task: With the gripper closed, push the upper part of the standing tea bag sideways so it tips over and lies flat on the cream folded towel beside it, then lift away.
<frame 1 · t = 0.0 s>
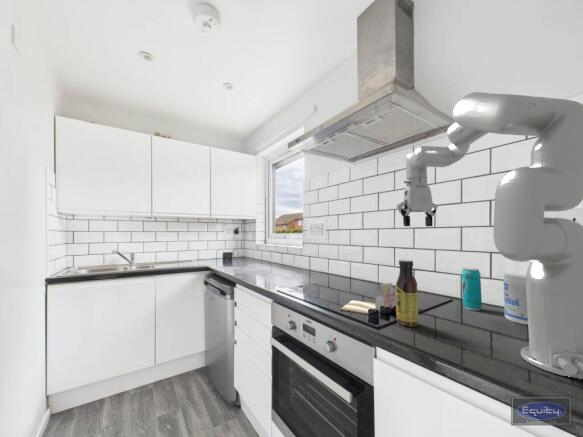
hand: (418, 226, 100), 31 cm above the counter, tool pointing down, fingers open, 9 cm apart
sauce bottle: (407, 324, 79), on the counter
beverage can: (472, 309, 94), on the counter
supplement tub: (524, 322, 81), on the counter
cream folded towel: (360, 307, 96), on the counter
tea bag: (385, 312, 91), on the counter
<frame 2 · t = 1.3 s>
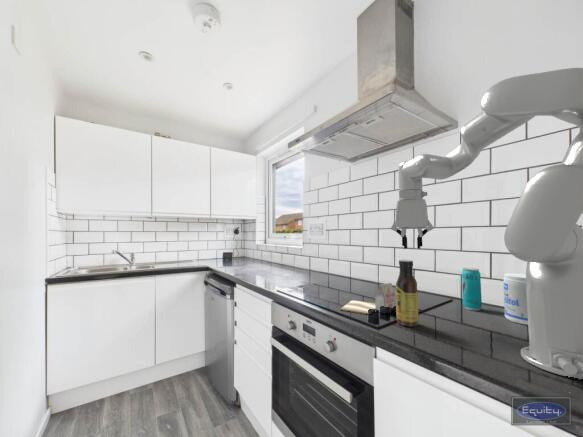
hand: (412, 247, 88), 23 cm above the counter, tool pointing down, fingers open, 3 cm apart
nothing on the counter moved.
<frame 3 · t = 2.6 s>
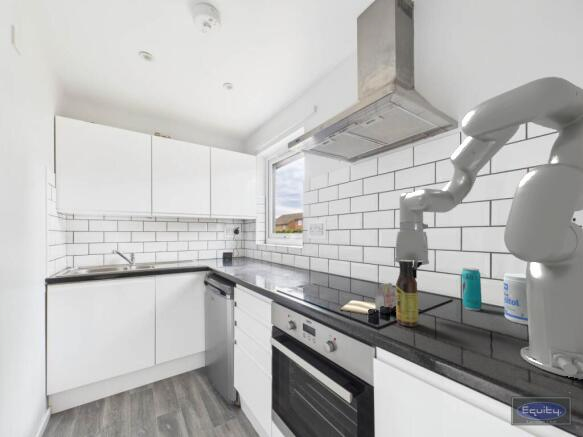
hand: (411, 280, 88), 12 cm above the counter, tool pointing down, fingers closed
nothing on the counter moved.
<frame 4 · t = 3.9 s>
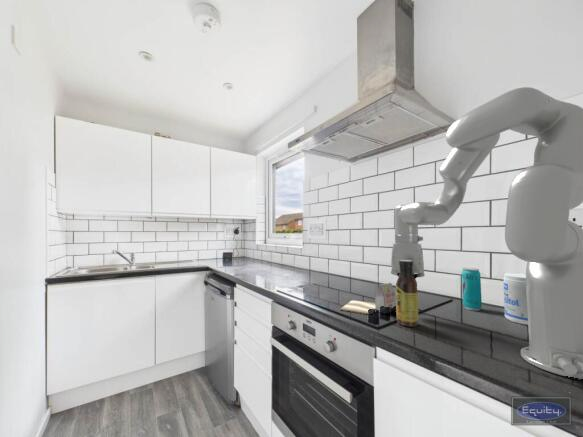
hand: (407, 292, 88), 8 cm above the counter, tool pointing down, fingers closed
nothing on the counter moved.
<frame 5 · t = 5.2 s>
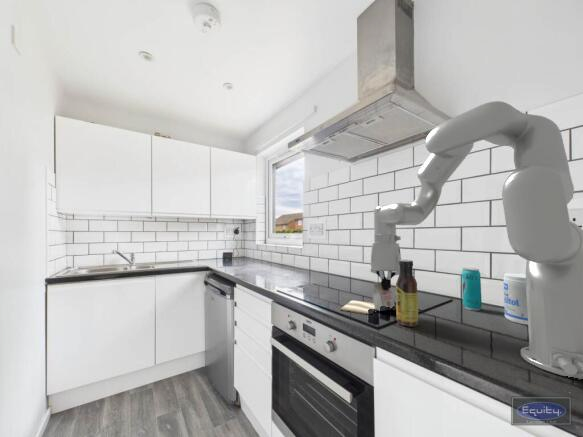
hand: (386, 289, 92), 8 cm above the counter, tool pointing down, fingers closed
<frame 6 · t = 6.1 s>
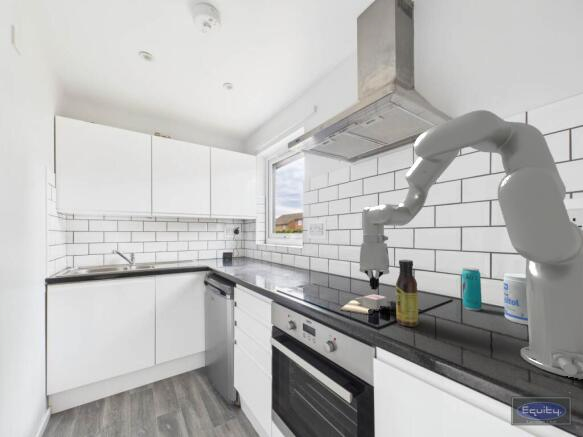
hand: (374, 288, 94), 8 cm above the counter, tool pointing down, fingers closed
tea bag: (382, 303, 93), point 2 cm above the counter, touching cream folded towel
everything else where it was.
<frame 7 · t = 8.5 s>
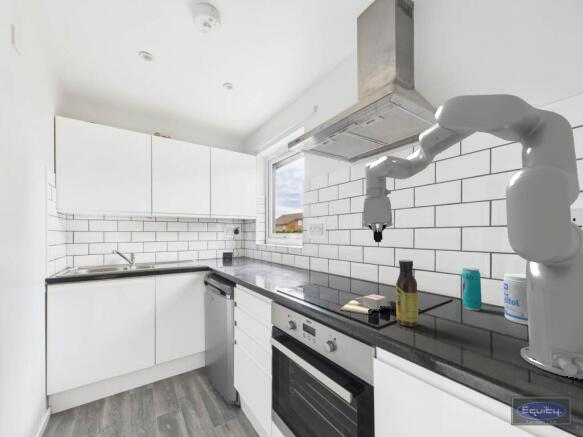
hand: (378, 242, 96), 25 cm above the counter, tool pointing down, fingers closed
nothing on the counter moved.
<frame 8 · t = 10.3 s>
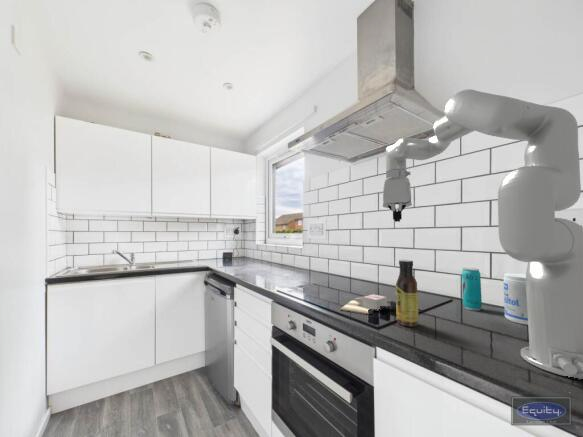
hand: (397, 221, 100), 33 cm above the counter, tool pointing down, fingers closed
nothing on the counter moved.
at the end: tea bag tilted 90°; tea bag touching cream folded towel; tea bag inside the target area (3.5 cm from its centre), point 2.4 cm above the counter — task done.
